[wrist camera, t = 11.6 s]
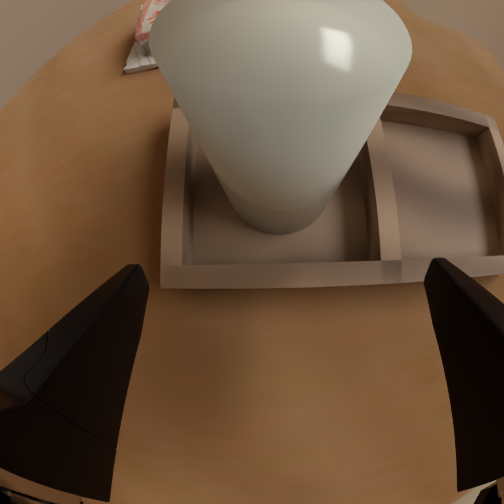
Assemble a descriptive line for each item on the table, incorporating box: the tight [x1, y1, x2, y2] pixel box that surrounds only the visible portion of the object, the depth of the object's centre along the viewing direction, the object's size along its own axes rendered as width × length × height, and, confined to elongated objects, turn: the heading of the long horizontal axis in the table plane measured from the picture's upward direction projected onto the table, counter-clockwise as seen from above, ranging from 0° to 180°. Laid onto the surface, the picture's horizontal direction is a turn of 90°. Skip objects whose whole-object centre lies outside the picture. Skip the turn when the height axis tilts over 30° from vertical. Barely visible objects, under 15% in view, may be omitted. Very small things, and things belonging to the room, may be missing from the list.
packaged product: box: [123, 0, 171, 74], centre depth 18 cm, size 18×5×10 cm
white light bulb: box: [149, 0, 412, 235], centre depth 10 cm, size 6×6×12 cm
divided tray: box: [160, 92, 504, 289], centre depth 15 cm, size 12×24×3 cm, turn 91°
